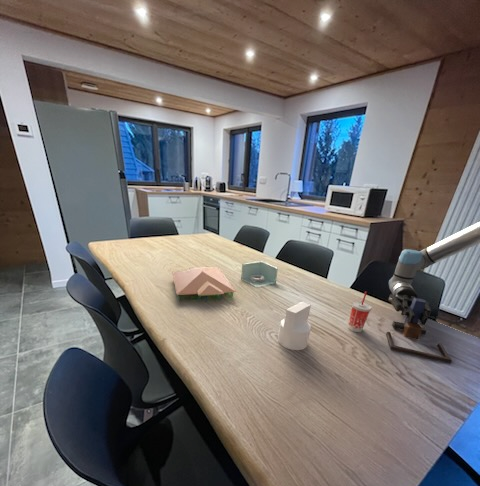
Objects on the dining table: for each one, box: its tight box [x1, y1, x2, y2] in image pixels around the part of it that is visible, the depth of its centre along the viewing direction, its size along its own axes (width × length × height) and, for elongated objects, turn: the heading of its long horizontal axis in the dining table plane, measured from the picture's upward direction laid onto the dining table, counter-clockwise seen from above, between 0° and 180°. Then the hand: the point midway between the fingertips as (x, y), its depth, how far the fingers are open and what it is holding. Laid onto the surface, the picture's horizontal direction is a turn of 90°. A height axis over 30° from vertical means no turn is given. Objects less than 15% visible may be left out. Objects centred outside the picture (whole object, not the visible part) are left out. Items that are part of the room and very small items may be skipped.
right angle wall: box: [240, 260, 279, 288], centre depth 126 cm, size 12×12×8 cm
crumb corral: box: [385, 331, 453, 364], centre depth 83 cm, size 16×10×1 cm, turn 70°
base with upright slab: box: [277, 300, 312, 351], centre depth 79 cm, size 9×9×12 cm
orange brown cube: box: [402, 322, 422, 340], centre depth 89 cm, size 4×4×4 cm
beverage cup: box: [347, 290, 373, 333], centre depth 89 cm, size 6×6×14 cm
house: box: [171, 266, 236, 303], centre depth 113 cm, size 23×33×8 cm
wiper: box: [391, 298, 427, 335], centre depth 91 cm, size 10×3×12 cm, turn 70°
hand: (418, 320), depth 86 cm, fingers closed on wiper, 3 cm apart
